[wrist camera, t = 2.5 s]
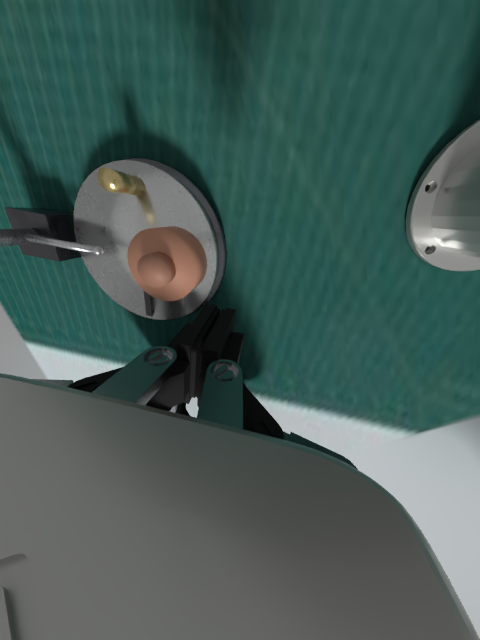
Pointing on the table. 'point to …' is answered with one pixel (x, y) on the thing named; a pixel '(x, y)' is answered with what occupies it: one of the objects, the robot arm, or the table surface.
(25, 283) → the table surface
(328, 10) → the table surface
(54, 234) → the metal lever
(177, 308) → the disc
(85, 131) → the table surface
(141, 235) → the cover
